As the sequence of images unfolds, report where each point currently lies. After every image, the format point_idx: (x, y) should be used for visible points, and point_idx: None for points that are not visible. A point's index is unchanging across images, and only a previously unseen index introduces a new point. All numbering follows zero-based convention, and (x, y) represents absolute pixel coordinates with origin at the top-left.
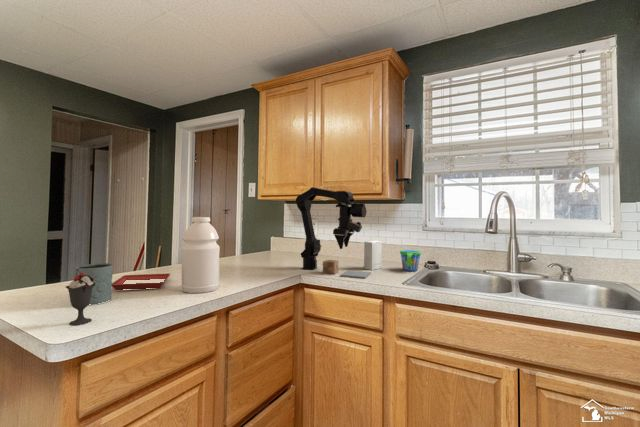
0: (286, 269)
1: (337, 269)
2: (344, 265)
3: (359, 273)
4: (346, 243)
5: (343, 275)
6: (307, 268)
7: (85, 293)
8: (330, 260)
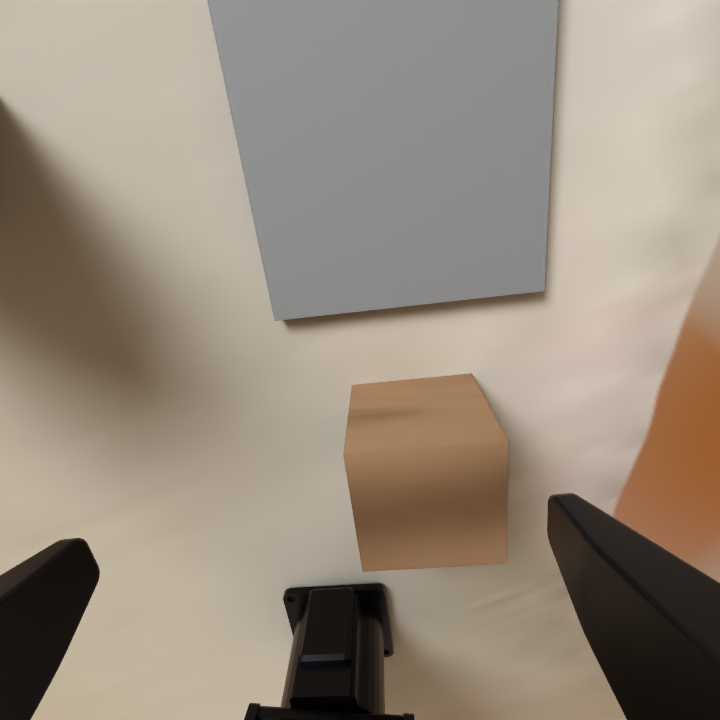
0: (450, 704)
1: (375, 398)
2: (10, 463)
3: (368, 116)
4: (19, 634)
5: (545, 253)
6: (385, 623)
7: None
8: (383, 529)
